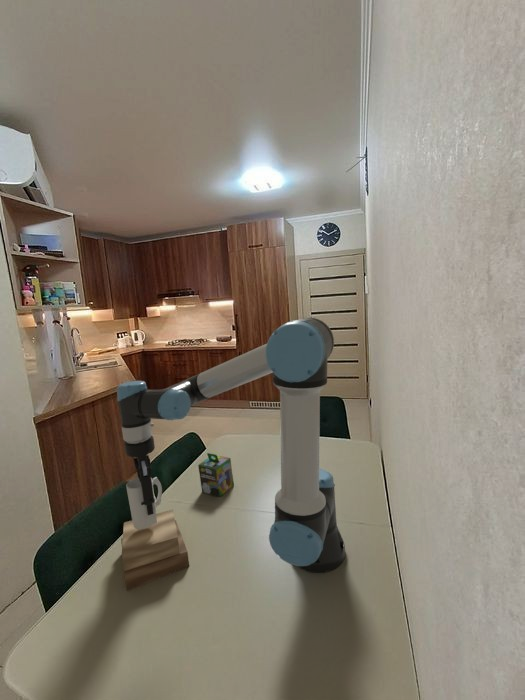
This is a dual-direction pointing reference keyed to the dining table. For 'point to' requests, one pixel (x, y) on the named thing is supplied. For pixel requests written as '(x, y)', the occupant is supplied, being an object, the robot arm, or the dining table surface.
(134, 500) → the mug
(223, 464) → the chalk box
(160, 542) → the beech slab
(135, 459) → the robot arm
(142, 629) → the dining table surface
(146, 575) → the wooden stepped stand
